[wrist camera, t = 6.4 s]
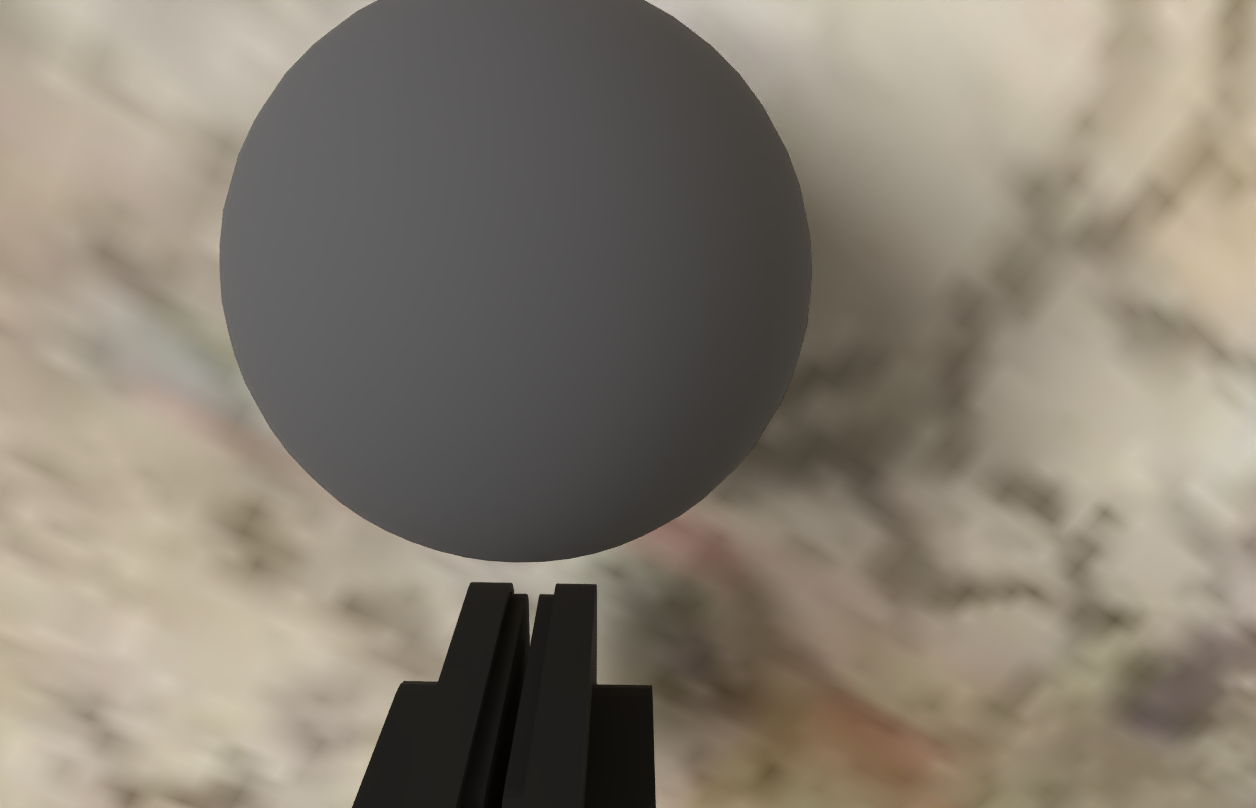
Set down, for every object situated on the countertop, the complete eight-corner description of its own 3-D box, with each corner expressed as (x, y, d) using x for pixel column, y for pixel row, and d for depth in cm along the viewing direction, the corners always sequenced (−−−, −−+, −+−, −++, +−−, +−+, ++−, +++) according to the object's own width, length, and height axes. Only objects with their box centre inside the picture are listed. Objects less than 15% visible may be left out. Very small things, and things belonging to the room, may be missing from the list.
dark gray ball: (956, 118, 5) (804, -82, 9) (-39, 90, 5) (269, -101, 9) (805, 690, 8) (745, 351, 13) (215, 681, 8) (355, 342, 13)
